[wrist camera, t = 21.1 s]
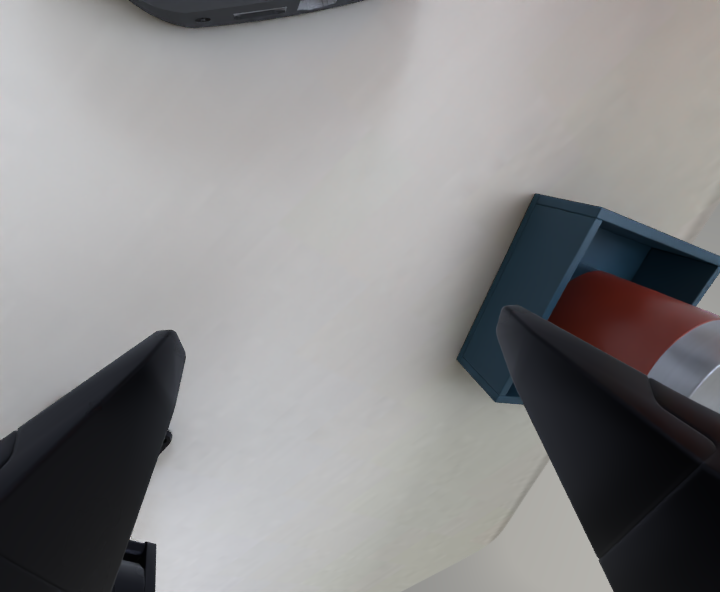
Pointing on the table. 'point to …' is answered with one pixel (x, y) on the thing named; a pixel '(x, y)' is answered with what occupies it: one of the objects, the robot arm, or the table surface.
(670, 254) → the tote
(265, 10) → the media streaming box
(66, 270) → the table surface
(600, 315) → the tin can
